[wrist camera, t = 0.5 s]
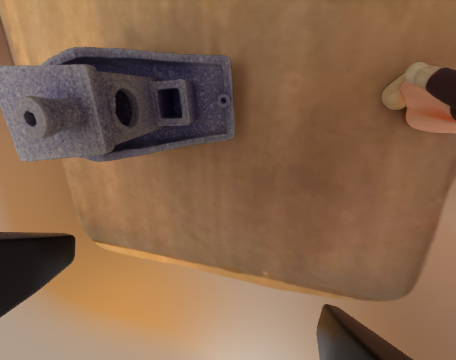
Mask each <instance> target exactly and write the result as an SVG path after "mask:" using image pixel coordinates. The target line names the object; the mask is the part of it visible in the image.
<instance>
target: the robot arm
mask: <svg viewBox="0 0 456 360" xmlns="http://www.w3.org/2000/svg"><path fill="white" fill-rule="evenodd" d="M74 256H75V237H74V236H73V235H70V234H65V233H18V232H16V233H15V232H0V317H2V316H3V315H5V314H6V313H7V312H9V311H10V310H12V309H13V308H15V307H16V306H17V305H19V304H20V303H22V302H23V301H24V300H26V299H27V298H29V297H30V296H32V295H33V294H34V293H36V292H37V291H38V290H40V289H41V288H42V287H43V286H44V285H46V284H47V283H48V282H49V281H50V280H52V279H53V278H54V277H55V276H57V275H58V274H59V273H60V272H61V271H62V270H64V269H65V268H66V267H67V266H68V265H70V264H71V262H72V261H73V259H74ZM317 341H318V349H319V357H320V360H413V359H411V358H410V357H408V356H407V355H406V354H404V353H403V352H401V351H400V350H398V349H397V348H396V347H394V346H392V345H391V344H390V343H388V342H387V341H386V340H384V339H383V338H381V337H380V336H378V335H377V334H376V333H374V332H373V331H371V330H370V329H368V328H367V327H365V326H364V325H363V324H361V323H360V322H358V321H357V320H356V319H354V318H353V317H351V316H350V315H348V314H347V313H345V312H344V311H343V310H341V309H340V308H338V307H336V306H332V305H328V304H325V305H324V306H323V308H322V312H321V315H320V319H319V322H318V326H317Z"/></svg>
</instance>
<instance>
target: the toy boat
mask: <svg viewBox="0 0 456 360" xmlns="http://www.w3.org/2000/svg"><path fill="white" fill-rule="evenodd" d="M0 107H1V109H2V112H3V115H4V118H5V121H6V123H7V126H8V128H9V131H10V134H11V137H12V140H13V143H14V145H15V148H16V150H17V153H18V156H19V158H20V159H21V161H38V160H49V159H60V158H72V157H81V158H85V159H88V160H92V161H97V162H102V161H113V160H118V159H122V158H127V157H134V156H140V155H145V154H150V153H154V152H158V151H163V150H168V149H173V148H179V147H184V146H190V145H196V144H203V143H211V142H218V141H228V140H231V139H232V138H233V137H234V135H235V117H234V104H233V83H232V65H231V59H230V58H229V57H227V56H222V55H194V54H189V55H187V54H173V53H160V52H148V51H140V50H131V49H119V48H95V47H73V48H70V49H67V50H64V51H62V52H60V53H59V54H58V55H55V56H53V57H51V58H49V59H48V60H47V61H45V62H44V63H43V64H41V65H40V66H27V65H25V66H0Z"/></svg>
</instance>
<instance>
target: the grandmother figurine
mask: <svg viewBox="0 0 456 360" xmlns="http://www.w3.org/2000/svg"><path fill="white" fill-rule="evenodd" d="M381 99H382V102H383V104H384V105H385V106H386V107H388V108H389V109H392V110H399V109H402V108H404V107H407V112H406V121H407V123H408V124H409V125H410V127H412V128H414V129H417V130H422V131H427V132H436V133H456V70H453V69H449V68H441V67H437V66H429V65H428V64H426V63H424V62H416V63H414V64H412V65H410V66H409V67H408V68H407V69H406V71H405V73H404V74H403V75H401V76H400V77H399V78H397V79H396V80H395V81H393V82H392V83H391V84H390V85H388V86H387V87H386V88H385V89H384V91H383V93H382V97H381Z"/></svg>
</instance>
